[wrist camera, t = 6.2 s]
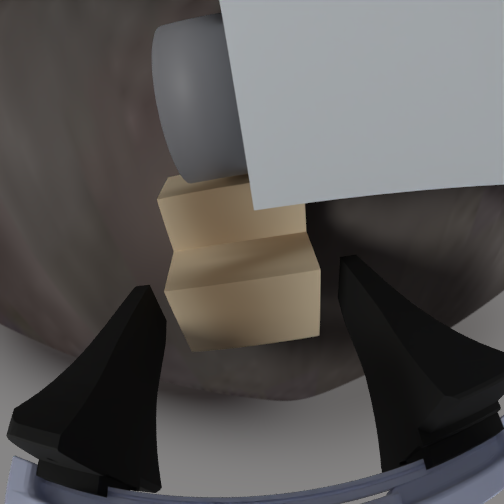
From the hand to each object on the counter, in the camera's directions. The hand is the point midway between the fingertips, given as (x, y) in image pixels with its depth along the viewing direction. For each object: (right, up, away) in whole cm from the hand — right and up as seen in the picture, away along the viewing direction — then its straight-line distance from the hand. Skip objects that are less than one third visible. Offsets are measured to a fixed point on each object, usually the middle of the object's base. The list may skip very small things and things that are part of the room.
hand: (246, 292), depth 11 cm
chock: (0, +3, +1) cm, 3 cm away
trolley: (+4, +11, -5) cm, 13 cm away
